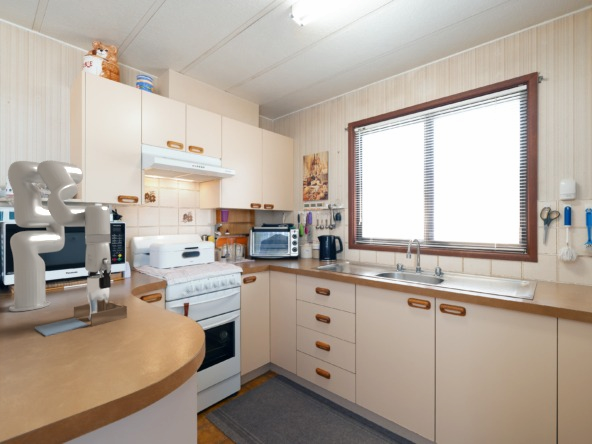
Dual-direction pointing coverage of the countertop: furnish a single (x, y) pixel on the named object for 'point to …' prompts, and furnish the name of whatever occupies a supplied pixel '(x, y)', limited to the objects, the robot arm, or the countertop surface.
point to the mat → (60, 326)
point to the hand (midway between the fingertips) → (99, 286)
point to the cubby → (102, 313)
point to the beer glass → (96, 295)
